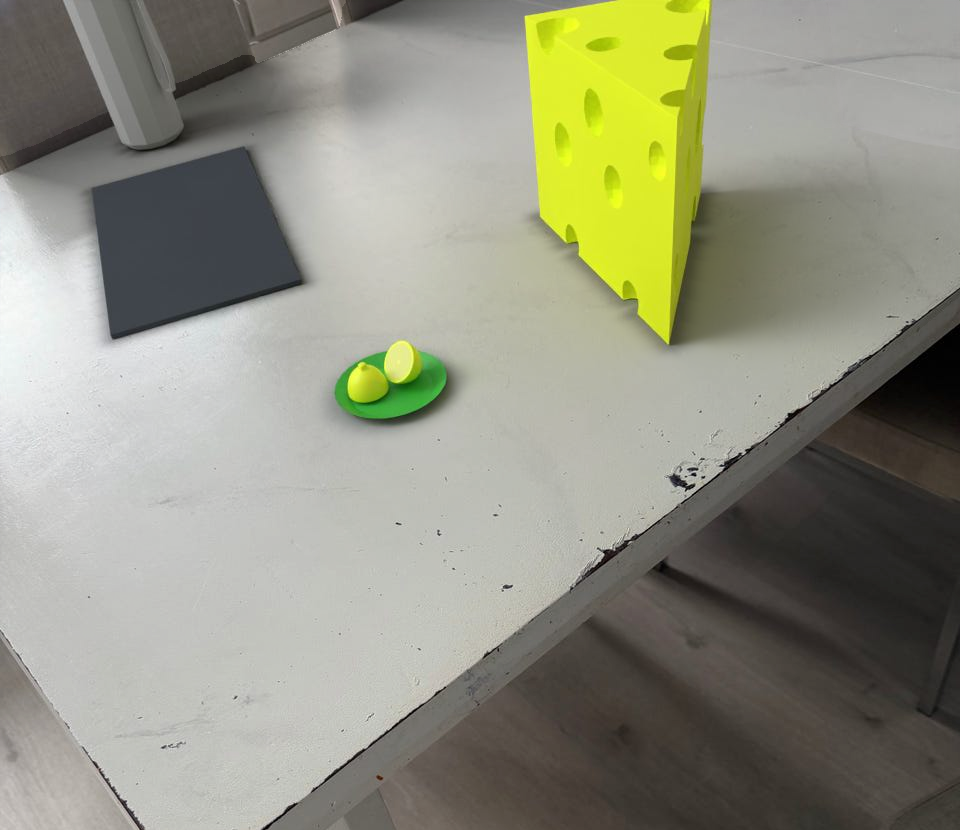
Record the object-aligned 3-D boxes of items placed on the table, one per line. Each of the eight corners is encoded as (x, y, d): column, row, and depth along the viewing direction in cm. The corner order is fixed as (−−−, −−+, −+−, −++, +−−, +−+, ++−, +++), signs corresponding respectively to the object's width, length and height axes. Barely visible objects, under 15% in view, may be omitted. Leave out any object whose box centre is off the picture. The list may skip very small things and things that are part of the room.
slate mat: (93, 191, 92) (91, 187, 92) (245, 149, 94) (243, 145, 94) (112, 339, 73) (110, 334, 73) (302, 283, 75) (300, 279, 75)
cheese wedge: (805, 215, 72) (838, -4, 60) (668, 345, 63) (677, 118, 52) (601, 170, 81) (597, -27, 69) (458, 278, 72) (427, 73, 61)
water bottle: (106, 152, 98) (-21, -146, 79) (150, 120, 102) (40, -170, 83) (172, 158, 95) (56, -152, 76) (215, 125, 99) (116, -176, 80)
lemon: (401, 344, 68) (393, 309, 65) (471, 384, 63) (465, 349, 61) (314, 395, 65) (303, 361, 63) (381, 441, 60) (372, 406, 58)
